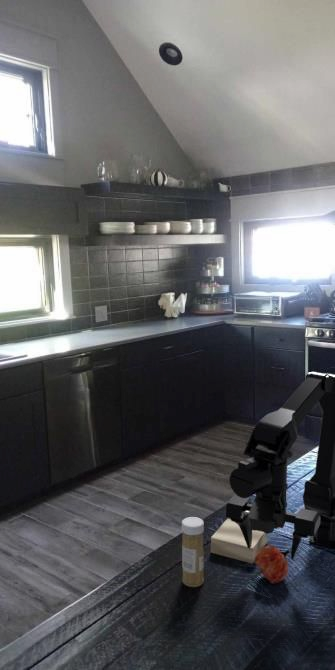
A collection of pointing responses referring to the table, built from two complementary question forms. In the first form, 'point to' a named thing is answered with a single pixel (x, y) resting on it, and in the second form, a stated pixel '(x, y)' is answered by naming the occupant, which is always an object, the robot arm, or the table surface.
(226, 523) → the pale wooden block
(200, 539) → the sprinkles bottle
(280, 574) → the red oval lump
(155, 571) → the table surface
